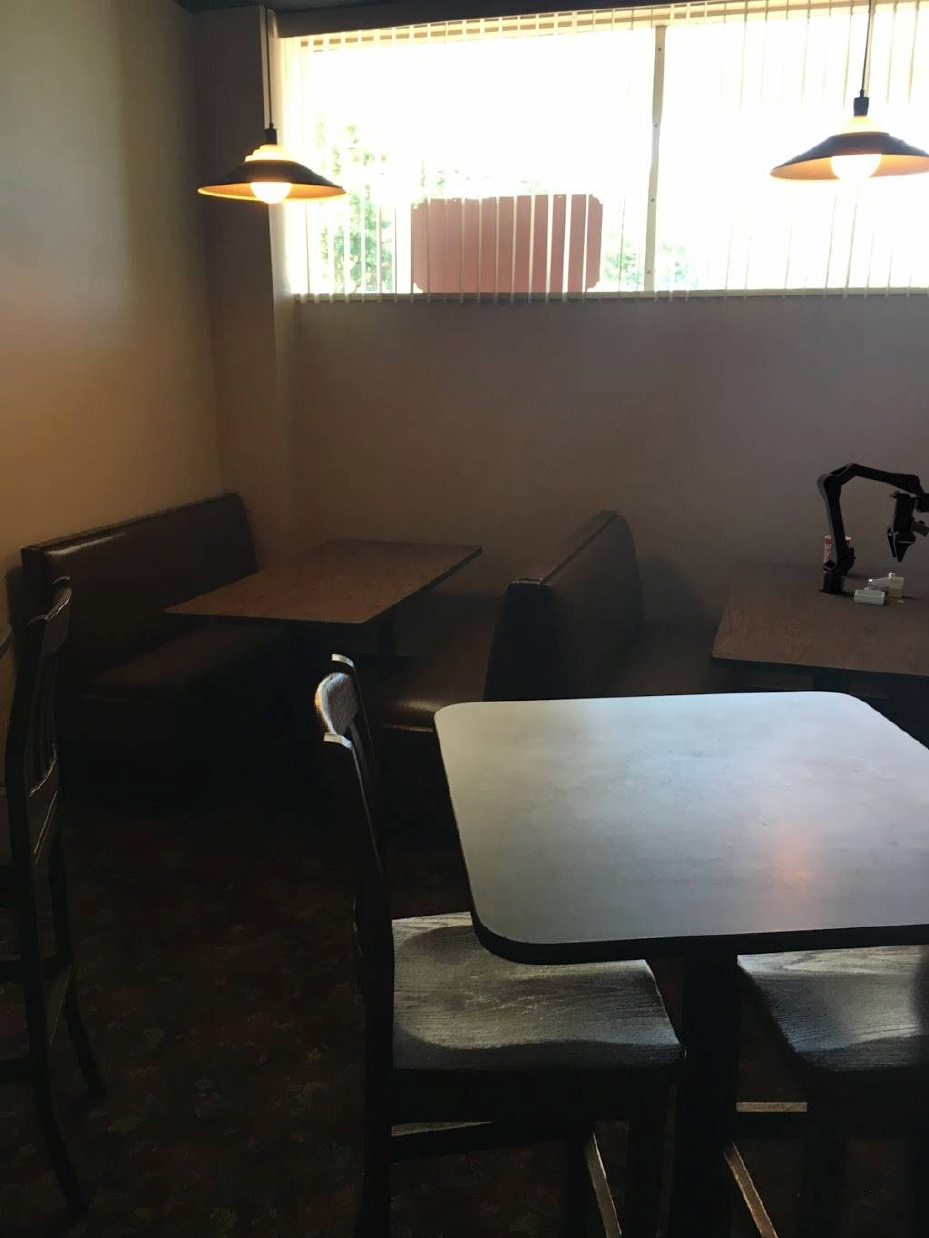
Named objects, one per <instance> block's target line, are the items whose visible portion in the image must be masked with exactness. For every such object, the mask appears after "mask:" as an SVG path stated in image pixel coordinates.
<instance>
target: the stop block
mask: <svg viewBox="0 0 929 1238" xmlns="http://www.w3.org/2000/svg"><path fill="white" fill-rule="evenodd" d="M904 579H905V577H902V576H894V577H893V576H891V577H890V585H889V586H888V593H887V595H888V597H891V598H902V595H903V590H904V581H905V580H904Z"/></svg>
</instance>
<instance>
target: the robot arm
mask: <svg viewBox="0 0 929 1238" xmlns="http://www.w3.org/2000/svg"><path fill="white" fill-rule="evenodd" d="M855 477H860V478H864V479H867V480H873V481H875V482H881V483H884V484H887V485H889V486H890V487H893V488H895V489H897V490H894V492H892V493H891V494H890V495H889V498H892V499H895V503H894V510H893V513H892V516H891V517H892V524H891V525H888V526H886V529H885V534H886V538H887V541H888V545H889V547H890V553H891V555H892V558H896V560H897V562H898V563H902V562H903V559H904V557H905V555H906V552H907V550H908V548H909V547H911V546H912V545H914V544H915V543H916V542H917V541H916V540H917V535H915V533H917V534H919V535H921V536H922V537H925V538H926V537H928V535H929V526H928V525H926V522H925V521H924V520H921V519H918V520H917V521H916V520H915V519H916V518H915V517H914V510H915V511H916V513H918V514H919V513H920V514H929V492H925V491H924V489H923V487H922V485H921V479H920V477H919V476H918V475H915V474H913V473H908V472H900V471H899V472H898V471H897V472H894V471H886V470H881V469H877V468H873V467H869V466H865V465H860V464H859V463H855V462H848V463H847V464H845V465H843V466H841V467H839V468H836V469H834V470H832V471H831V472H829V473H828V472H827V473H822V474H821V475H820V476H819V477H818V478H817V480H816V486H817V489H818V491H819V493H820V496H821V497H822V500H823V501H824V505H825V510H826V517H827V521H828V522H827V523H828V527H829V529H828V530H829V533H830V535H829V536H831V540H832V546H831V550H830V559H829V560H828V561H827V562H826V563H824V562H823V564H822V566H821V567H822V570H823V571H825V572H826V573H825V574H824V573H823V574H824V575H823V584H822V588H819V589H818V591H819V592H823V593H826V594H830V595H838V594H846V593H847V592H848V591H847V590H844V586H845V579H846V578H845V577H846V576H847V575H848V573H849V571H850V570H851V569H852V568H853V566H855V560H857V558H856V555H855V547H854V546H852V545H851V544H850V545H847V542H846V537H847V536H846V532H845V526H844V520H843V515H842V510H841V503H840V502H841V501H840V499H841V495H842V486H844V485H846V484H847V483H849V481H851V480H852V479H853V478H855ZM899 490H900V491H904V492H905V493H904V492H900V491H899ZM911 495H914V496H911ZM823 571H822V572H823Z"/></svg>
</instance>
